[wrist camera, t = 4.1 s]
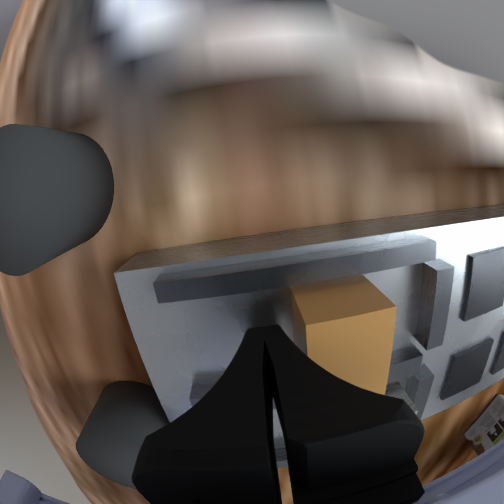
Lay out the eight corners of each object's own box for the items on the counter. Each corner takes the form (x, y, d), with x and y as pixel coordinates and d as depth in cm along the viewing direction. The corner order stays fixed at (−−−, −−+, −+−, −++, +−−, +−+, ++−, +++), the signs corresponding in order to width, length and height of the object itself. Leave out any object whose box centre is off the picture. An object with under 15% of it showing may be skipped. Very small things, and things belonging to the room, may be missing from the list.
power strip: (195, 430, 17) (186, 500, 11) (137, 253, 14) (79, 304, 8) (499, 351, 17) (537, 386, 11) (524, 202, 14) (582, 218, 8)
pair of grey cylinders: (121, 435, 18) (103, 483, 13) (23, 152, 12) (-38, 154, 7) (192, 438, 17) (185, 493, 13) (106, 118, 12) (49, 100, 7)
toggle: (297, 367, 12) (309, 414, 9) (289, 286, 11) (305, 325, 8) (360, 354, 12) (384, 395, 9) (362, 274, 11) (396, 306, 8)
